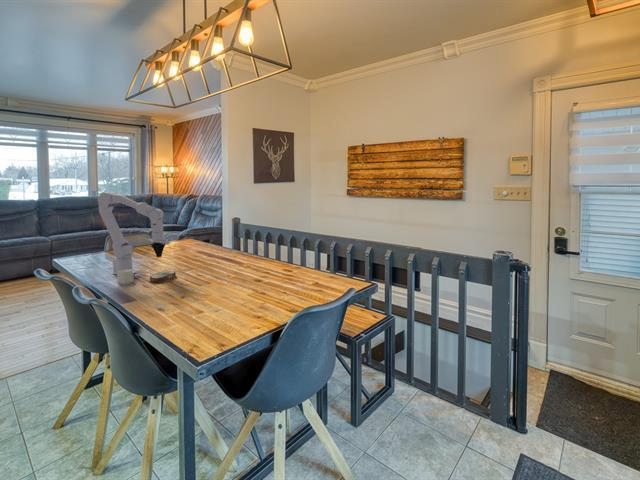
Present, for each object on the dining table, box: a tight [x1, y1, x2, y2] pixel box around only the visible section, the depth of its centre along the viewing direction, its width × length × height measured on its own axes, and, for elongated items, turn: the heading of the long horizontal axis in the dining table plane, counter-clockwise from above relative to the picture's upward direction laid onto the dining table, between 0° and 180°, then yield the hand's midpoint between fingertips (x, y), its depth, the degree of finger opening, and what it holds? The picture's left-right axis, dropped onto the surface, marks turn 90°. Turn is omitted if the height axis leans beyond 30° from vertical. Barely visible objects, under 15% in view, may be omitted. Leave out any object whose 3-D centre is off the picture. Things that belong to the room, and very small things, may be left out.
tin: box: [149, 270, 177, 284], centre depth 183 cm, size 15×3×8 cm
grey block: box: [116, 269, 135, 285], centre depth 177 cm, size 5×5×6 cm
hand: (159, 256), depth 192 cm, fingers closed
